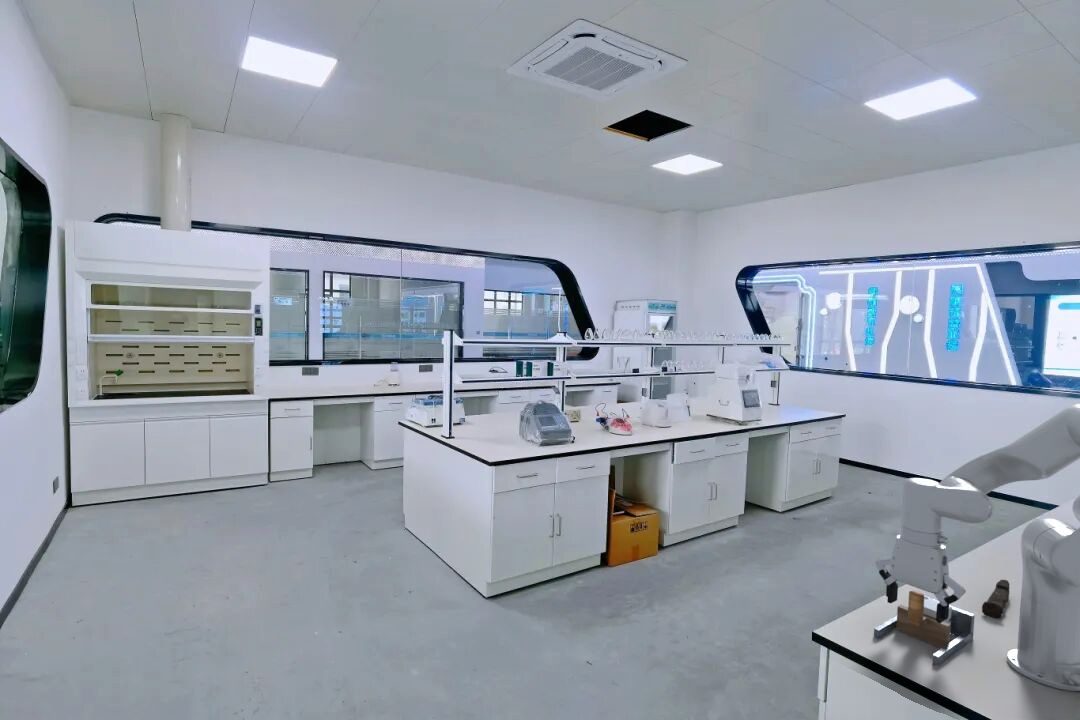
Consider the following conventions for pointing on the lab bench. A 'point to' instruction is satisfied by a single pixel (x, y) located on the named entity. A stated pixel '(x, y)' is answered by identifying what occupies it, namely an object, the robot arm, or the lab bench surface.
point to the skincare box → (934, 609)
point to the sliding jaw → (921, 622)
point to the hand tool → (997, 600)
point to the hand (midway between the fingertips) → (915, 610)
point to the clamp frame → (959, 627)
